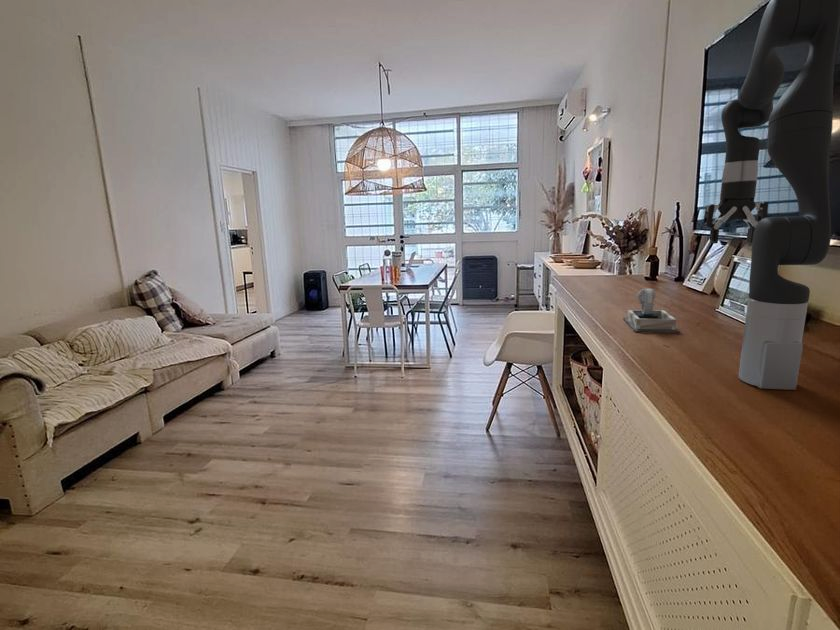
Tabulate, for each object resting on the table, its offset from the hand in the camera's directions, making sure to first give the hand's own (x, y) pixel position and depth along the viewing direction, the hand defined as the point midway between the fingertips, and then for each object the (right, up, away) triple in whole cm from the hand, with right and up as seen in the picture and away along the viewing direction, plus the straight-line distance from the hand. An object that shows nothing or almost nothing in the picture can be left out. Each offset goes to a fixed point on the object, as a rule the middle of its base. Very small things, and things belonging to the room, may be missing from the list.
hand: (732, 242), depth 118 cm
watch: (-15, -22, +16) cm, 32 cm away
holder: (-14, -23, +16) cm, 31 cm away
